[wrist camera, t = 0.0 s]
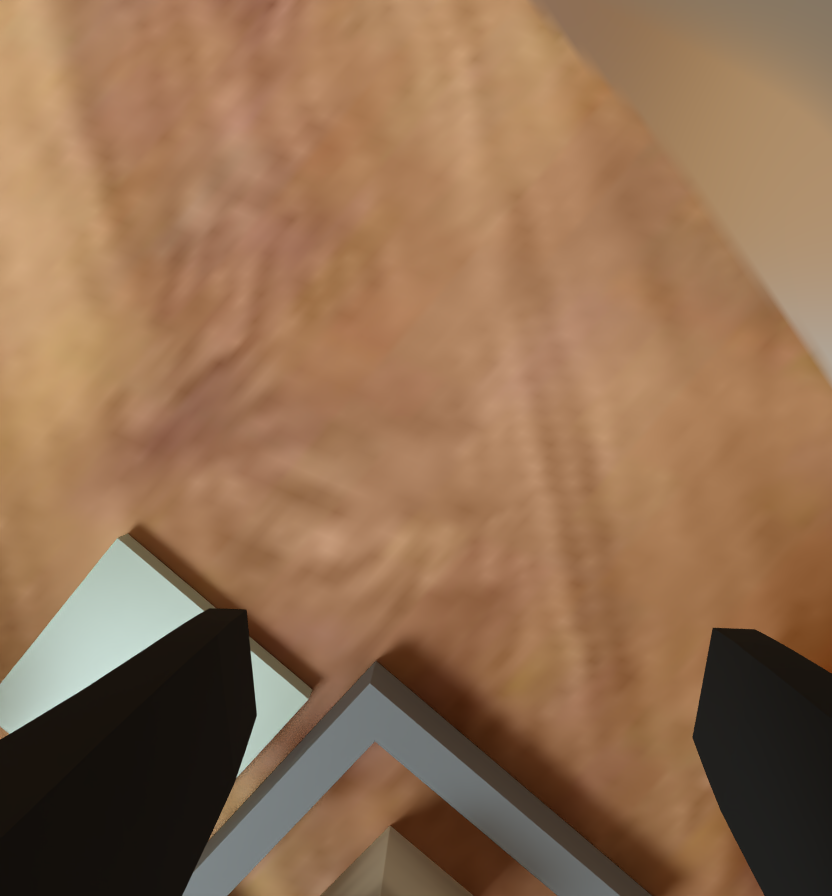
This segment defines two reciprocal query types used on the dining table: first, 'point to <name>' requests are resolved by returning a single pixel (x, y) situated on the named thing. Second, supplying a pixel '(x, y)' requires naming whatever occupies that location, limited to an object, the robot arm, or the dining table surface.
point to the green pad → (130, 643)
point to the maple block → (394, 872)
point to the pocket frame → (436, 764)
